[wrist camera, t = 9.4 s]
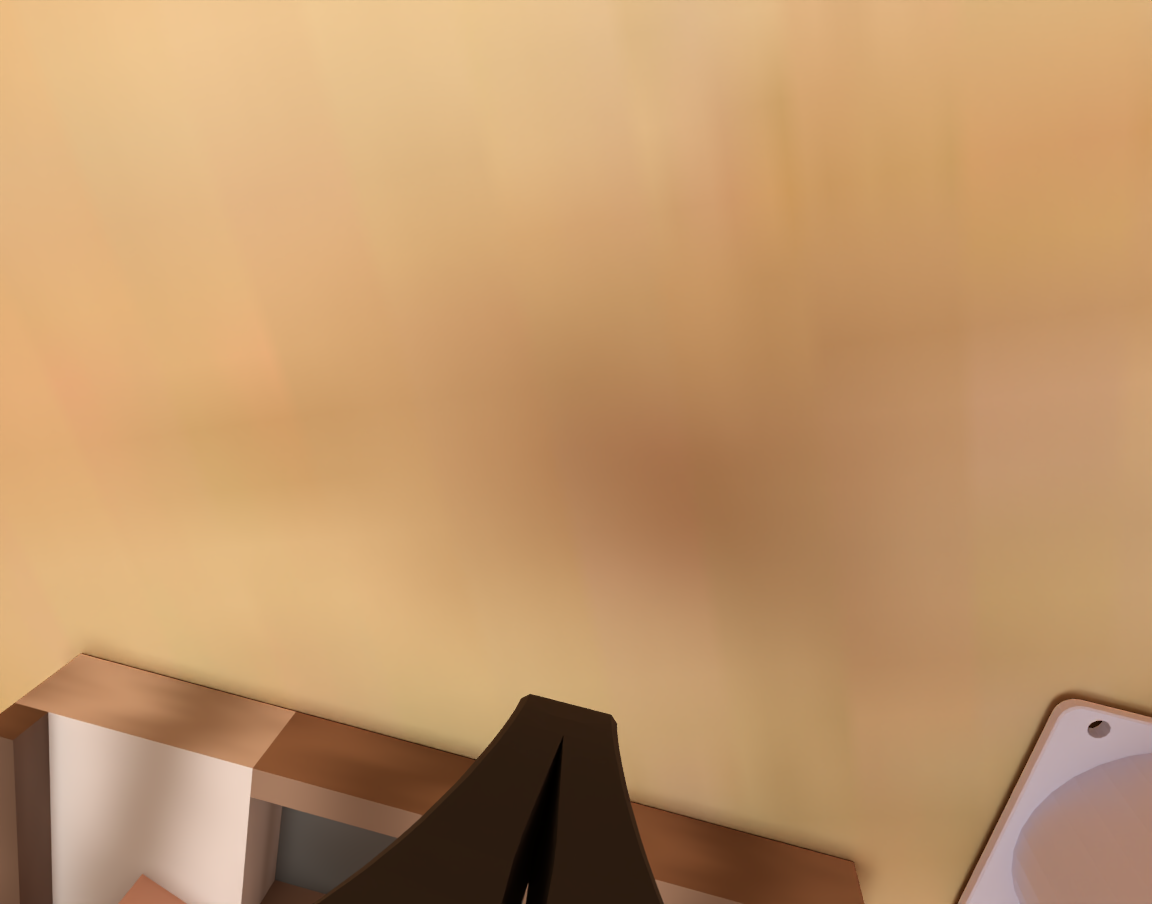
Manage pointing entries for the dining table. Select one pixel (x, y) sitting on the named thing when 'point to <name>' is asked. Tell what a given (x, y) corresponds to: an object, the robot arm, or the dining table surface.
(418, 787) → the trap board
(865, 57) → the dining table surface
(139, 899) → the terracotta block
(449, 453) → the dining table surface
